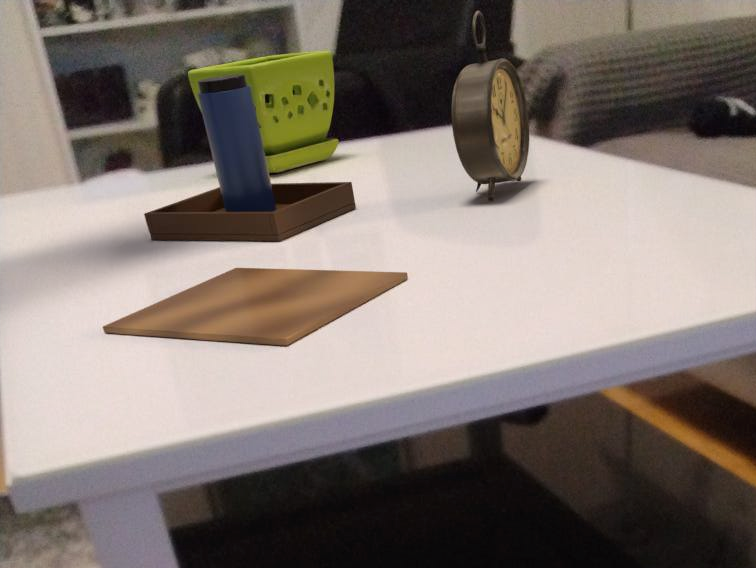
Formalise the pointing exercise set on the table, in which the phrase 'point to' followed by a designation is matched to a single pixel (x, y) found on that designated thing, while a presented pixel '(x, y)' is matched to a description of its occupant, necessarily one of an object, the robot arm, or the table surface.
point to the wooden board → (258, 305)
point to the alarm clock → (490, 119)
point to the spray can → (236, 144)
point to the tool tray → (252, 214)
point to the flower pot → (286, 104)
